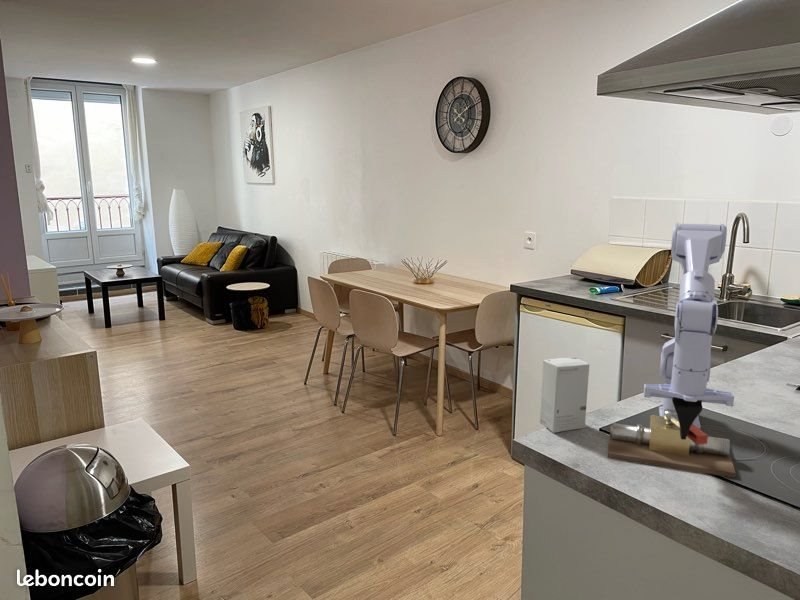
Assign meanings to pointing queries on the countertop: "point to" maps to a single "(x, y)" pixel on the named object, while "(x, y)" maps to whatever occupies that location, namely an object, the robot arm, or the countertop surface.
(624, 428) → the valve housing
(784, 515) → the countertop surface
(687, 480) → the countertop surface
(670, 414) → the valve lever
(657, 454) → the base board
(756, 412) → the countertop surface
